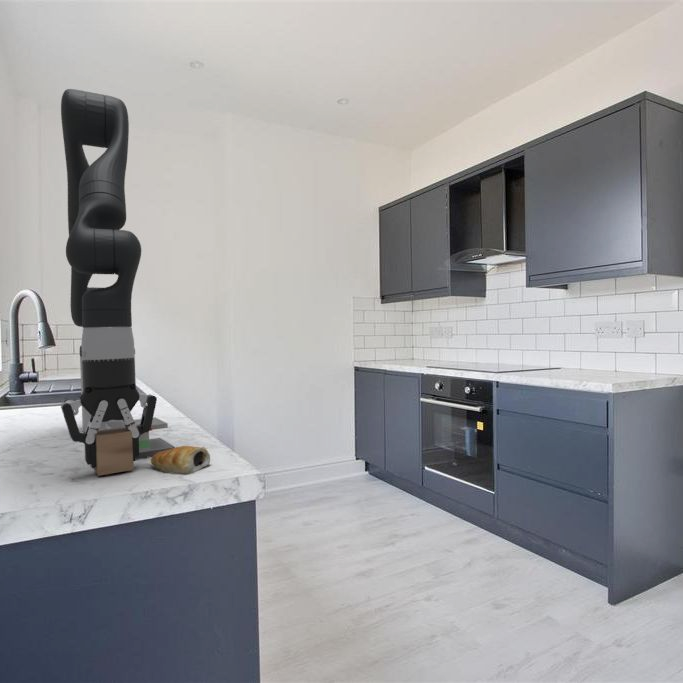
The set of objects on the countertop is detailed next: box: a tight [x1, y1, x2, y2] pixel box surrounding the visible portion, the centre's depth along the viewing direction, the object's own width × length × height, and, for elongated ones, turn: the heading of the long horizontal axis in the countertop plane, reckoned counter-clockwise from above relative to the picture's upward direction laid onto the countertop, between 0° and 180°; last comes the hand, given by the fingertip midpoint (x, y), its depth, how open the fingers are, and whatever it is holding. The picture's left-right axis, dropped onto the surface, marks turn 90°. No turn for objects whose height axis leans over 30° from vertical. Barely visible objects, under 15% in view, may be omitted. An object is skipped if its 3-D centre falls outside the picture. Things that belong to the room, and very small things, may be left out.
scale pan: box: [105, 416, 169, 432], centre depth 90 cm, size 11×9×2 cm
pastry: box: [150, 445, 211, 475], centre depth 79 cm, size 9×7×4 cm
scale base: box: [135, 424, 176, 460], centre depth 91 cm, size 11×11×6 cm
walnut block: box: [92, 427, 134, 477], centre depth 78 cm, size 5×5×6 cm
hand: (112, 463), depth 78 cm, fingers closed on walnut block, 5 cm apart
